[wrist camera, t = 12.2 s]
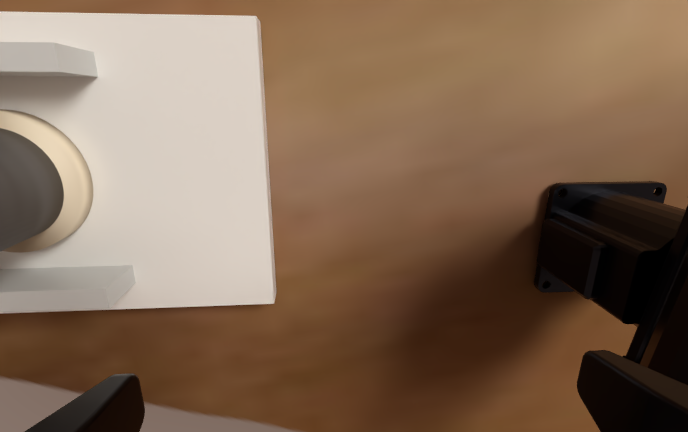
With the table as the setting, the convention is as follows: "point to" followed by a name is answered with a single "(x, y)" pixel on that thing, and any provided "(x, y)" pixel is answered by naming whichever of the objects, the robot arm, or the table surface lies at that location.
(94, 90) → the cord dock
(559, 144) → the table surface
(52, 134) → the disc
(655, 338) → the robot arm
